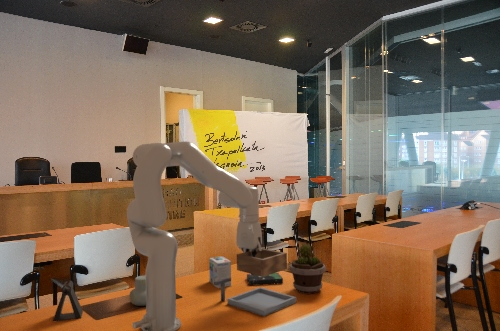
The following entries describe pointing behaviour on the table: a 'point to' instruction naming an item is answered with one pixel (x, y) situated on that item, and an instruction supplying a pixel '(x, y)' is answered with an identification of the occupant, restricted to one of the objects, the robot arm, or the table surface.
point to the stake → (222, 286)
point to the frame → (262, 262)
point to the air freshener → (139, 291)
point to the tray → (261, 301)
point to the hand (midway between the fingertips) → (250, 265)
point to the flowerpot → (307, 271)
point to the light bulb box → (219, 270)
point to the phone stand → (74, 302)
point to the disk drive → (264, 279)
